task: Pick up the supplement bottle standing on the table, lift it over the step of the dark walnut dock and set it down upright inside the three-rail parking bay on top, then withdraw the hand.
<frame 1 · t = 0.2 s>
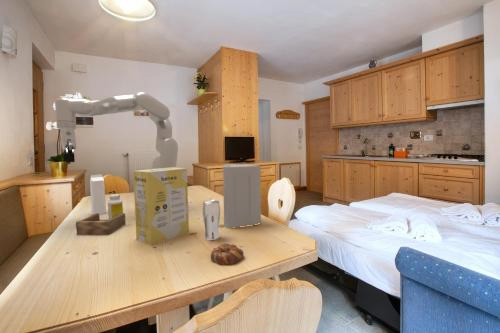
hand: (69, 161, 121), 31 cm above the table, tool pointing down, fingers open, 9 cm apart
milk: (99, 213, 145), on the table
supplement bottle: (116, 220, 131), on the table
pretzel: (226, 258, 86), on the table
paper bag: (236, 224, 122), on the table
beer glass: (212, 238, 104), on the table
dock: (102, 229, 116), on the table
pasta box: (163, 235, 108), on the table
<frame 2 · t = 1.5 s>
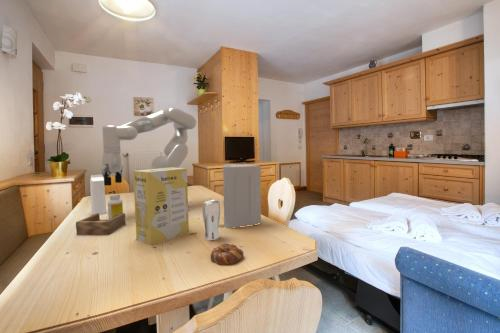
hand: (113, 183, 129), 19 cm above the table, tool pointing down, fingers open, 9 cm apart
nothing on the table moved.
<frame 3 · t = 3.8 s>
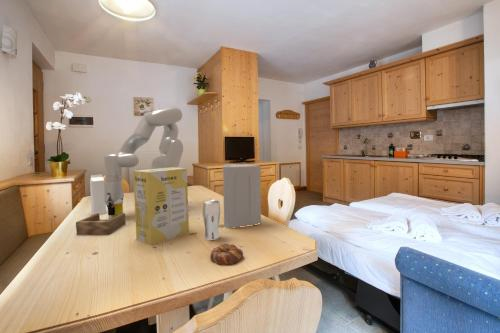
hand: (115, 212, 131), 4 cm above the table, tool pointing down, fingers closed on supplement bottle, 6 cm apart
supplement bottle: (116, 220, 131), on the table, touching gripper
everything else where it was.
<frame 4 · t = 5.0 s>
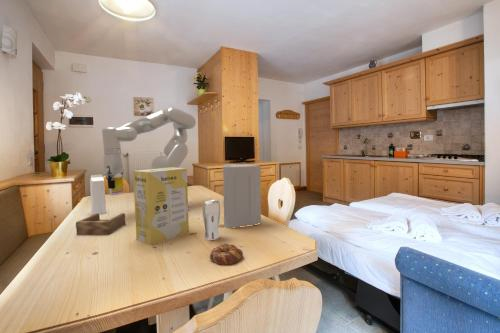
hand: (115, 186, 130), 17 cm above the table, tool pointing down, fingers closed on supplement bottle, 6 cm apart
supplement bottle: (116, 194, 131), point 13 cm above the table, touching gripper
everything else where it was.
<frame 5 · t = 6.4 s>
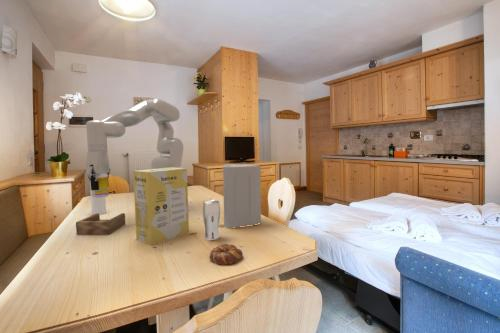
hand: (100, 188, 115), 19 cm above the table, tool pointing down, fingers closed on supplement bottle, 6 cm apart
supplement bottle: (100, 196, 115), point 15 cm above the table, touching gripper
everything else where it was.
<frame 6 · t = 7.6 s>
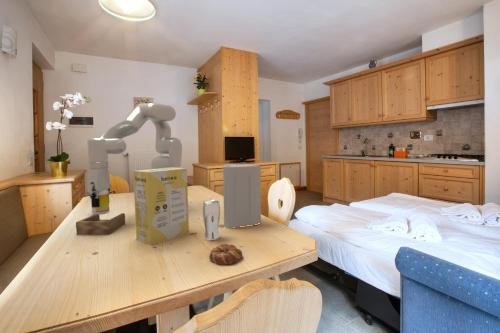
hand: (100, 205, 115), 11 cm above the table, tool pointing down, fingers closed on supplement bottle, 6 cm apart
supplement bottle: (101, 213, 115), point 7 cm above the table, touching gripper
everything else where it was.
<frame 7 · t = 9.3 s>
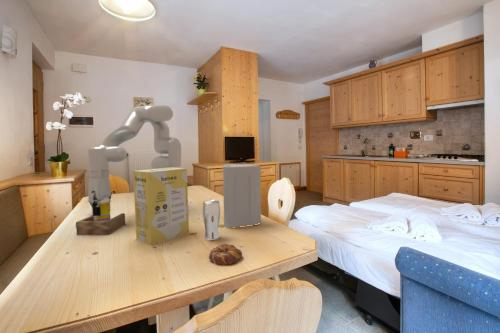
hand: (101, 213, 116), 8 cm above the table, tool pointing down, fingers closed on supplement bottle, 6 cm apart
supplement bottle: (102, 221, 116), point 4 cm above the table, touching gripper
everything else where it was.
when the fingers open (8 cm above the table, at t = 9.3 s): supplement bottle drops 1 cm, resting on dock.
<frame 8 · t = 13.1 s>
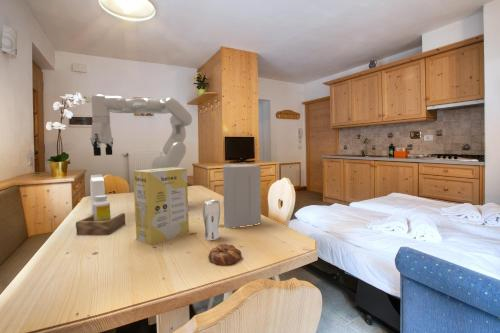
hand: (103, 155, 127), 33 cm above the table, tool pointing down, fingers open, 9 cm apart
supplement bottle: (102, 224, 116), point 2 cm above the table, touching dock
everything else where it was.
at the end: supplement bottle inside the target area on the dock (0.3 cm from its centre), point 2.3 cm above the dock's base; supplement bottle tilted 0°; the gripper is holding nothing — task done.
